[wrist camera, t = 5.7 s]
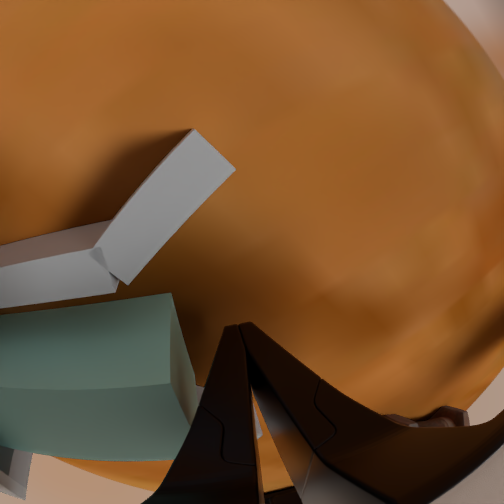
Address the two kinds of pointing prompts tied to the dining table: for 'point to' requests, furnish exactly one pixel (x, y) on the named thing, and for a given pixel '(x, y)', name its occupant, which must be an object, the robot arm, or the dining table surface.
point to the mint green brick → (97, 381)
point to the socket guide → (107, 253)
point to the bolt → (437, 418)
